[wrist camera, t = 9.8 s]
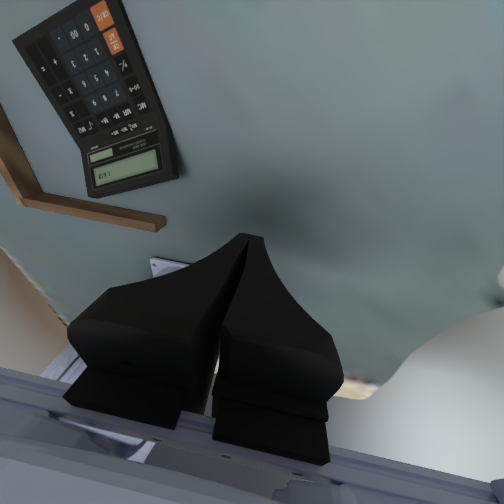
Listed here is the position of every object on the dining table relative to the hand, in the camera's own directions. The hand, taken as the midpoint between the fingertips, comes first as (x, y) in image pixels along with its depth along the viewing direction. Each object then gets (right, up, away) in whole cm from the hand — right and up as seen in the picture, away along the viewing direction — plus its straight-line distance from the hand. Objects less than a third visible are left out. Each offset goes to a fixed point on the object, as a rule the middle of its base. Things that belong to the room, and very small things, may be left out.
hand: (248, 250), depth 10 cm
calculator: (-12, +12, +6) cm, 18 cm away
